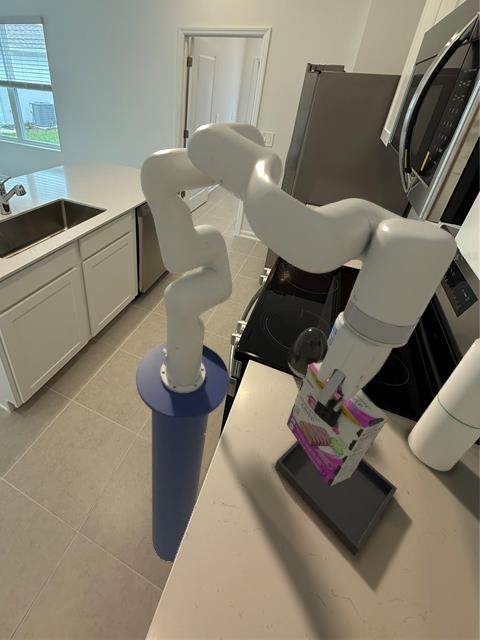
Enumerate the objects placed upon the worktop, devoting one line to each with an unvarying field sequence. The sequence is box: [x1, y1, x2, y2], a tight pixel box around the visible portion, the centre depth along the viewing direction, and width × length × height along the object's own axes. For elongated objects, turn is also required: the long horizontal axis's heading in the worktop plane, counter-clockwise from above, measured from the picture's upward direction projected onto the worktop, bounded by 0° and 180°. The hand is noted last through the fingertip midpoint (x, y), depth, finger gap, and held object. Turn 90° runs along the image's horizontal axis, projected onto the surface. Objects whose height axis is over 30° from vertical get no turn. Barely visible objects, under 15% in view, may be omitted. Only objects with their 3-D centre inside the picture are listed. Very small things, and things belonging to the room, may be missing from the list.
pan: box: [274, 439, 398, 557], centre depth 62 cm, size 17×15×3 cm
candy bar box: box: [286, 360, 389, 487], centre depth 49 cm, size 11×5×16 cm, turn 22°
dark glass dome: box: [286, 326, 328, 380], centre depth 82 cm, size 10×10×15 cm
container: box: [407, 337, 480, 472], centre depth 62 cm, size 9×9×30 cm
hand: (336, 406), depth 47 cm, fingers closed on candy bar box, 5 cm apart
